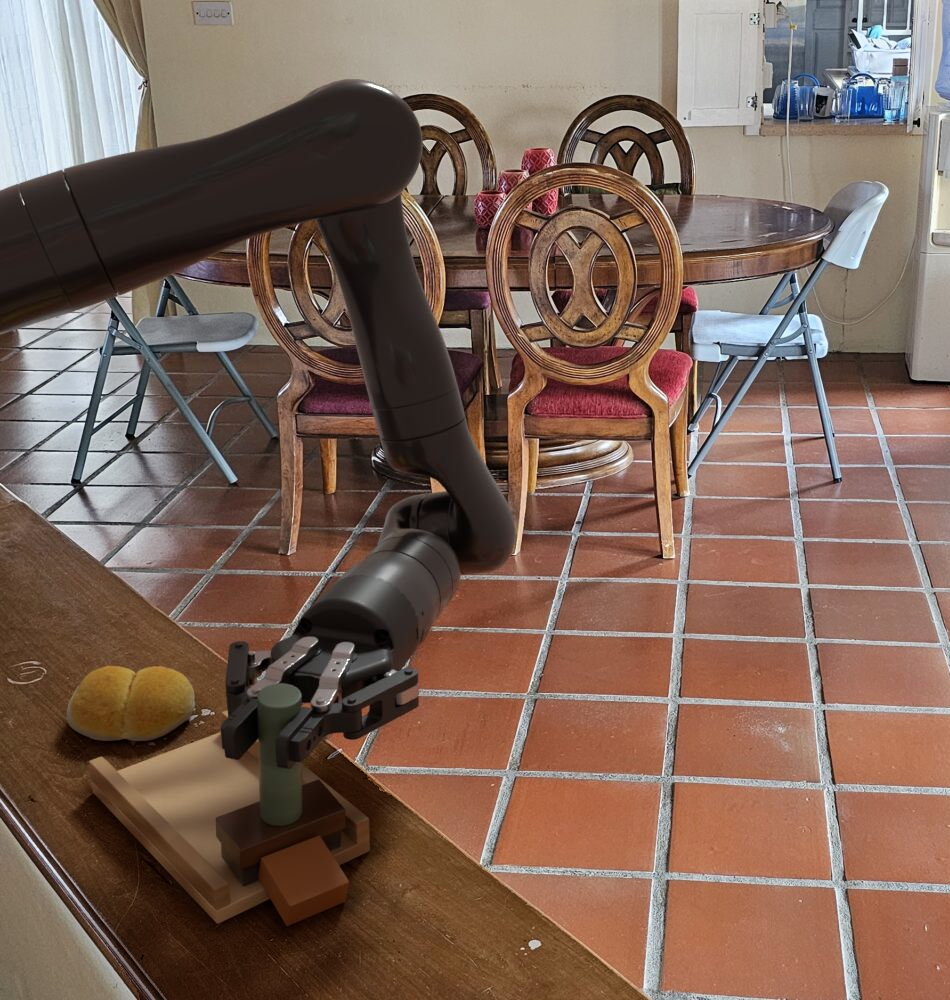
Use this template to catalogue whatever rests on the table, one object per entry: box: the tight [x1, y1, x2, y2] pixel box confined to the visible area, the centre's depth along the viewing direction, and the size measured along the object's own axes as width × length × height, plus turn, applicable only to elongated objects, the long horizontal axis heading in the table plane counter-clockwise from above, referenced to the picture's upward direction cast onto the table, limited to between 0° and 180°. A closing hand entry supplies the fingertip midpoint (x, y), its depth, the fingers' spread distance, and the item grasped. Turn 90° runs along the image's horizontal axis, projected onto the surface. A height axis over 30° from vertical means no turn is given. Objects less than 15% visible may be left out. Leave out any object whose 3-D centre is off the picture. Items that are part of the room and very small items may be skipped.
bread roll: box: [66, 665, 196, 742], centre depth 99 cm, size 8×9×4 cm
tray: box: [88, 709, 371, 924], centre depth 88 cm, size 18×11×3 cm, turn 43°
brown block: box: [258, 836, 350, 927], centre depth 80 cm, size 4×4×2 cm
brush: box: [215, 683, 346, 886], centre depth 81 cm, size 4×7×12 cm, turn 129°
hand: (256, 750), depth 76 cm, fingers closed on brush, 2 cm apart
